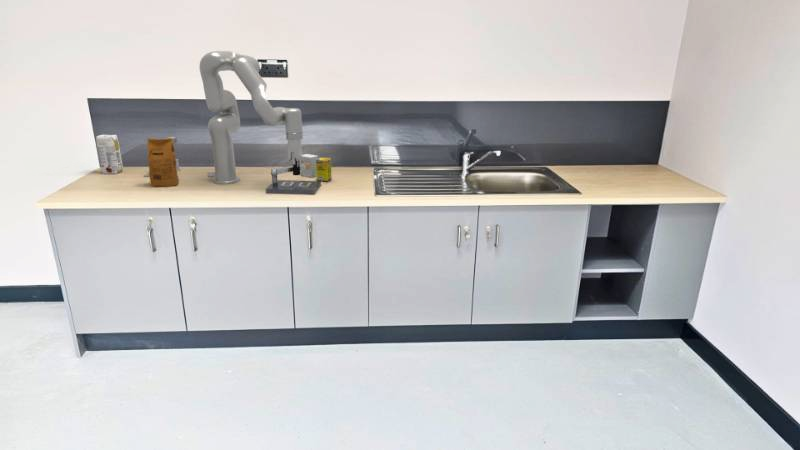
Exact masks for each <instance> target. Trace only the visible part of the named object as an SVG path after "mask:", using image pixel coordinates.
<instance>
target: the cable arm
mask: <svg viewBox="0 0 800 450" xmlns="http://www.w3.org/2000/svg"><path fill="white" fill-rule="evenodd" d="M304 169H310V164H308V163H304V164H301V165H300V171H301V170H304ZM287 173H293V167H292V165H291V166H290V165H289V166H284V167H277V168H270V175H271V176H272V175H277V176H278V175H280V174H287Z"/></svg>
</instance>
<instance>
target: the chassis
mask: <svg viewBox="0 0 800 450" xmlns="http://www.w3.org/2000/svg"><path fill="white" fill-rule="evenodd" d="M321 186H322V182H321V181H317V180H292V179H291V180H286V179H278V175H271V183H270V184H269V186H267V187H266V188H265V193H266V194H271V195H272V194H277V195H278V194H279V195H308V196H309V195H310V196H311V195H312V196H315V195H316V193H317V192H318V191H319V189H320V187H321Z"/></svg>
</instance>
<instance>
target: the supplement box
mask: <svg viewBox="0 0 800 450" xmlns="http://www.w3.org/2000/svg"><path fill="white" fill-rule="evenodd" d="M316 173H317V176H316V181H321V183H329V182H330V181H331V180H332V158H331V157H318V159H317V160H316Z"/></svg>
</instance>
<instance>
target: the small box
mask: <svg viewBox="0 0 800 450" xmlns="http://www.w3.org/2000/svg"><path fill="white" fill-rule="evenodd" d="M317 159H319V155H317V154H316V155H315V154H309V153H305V154H302V158H301V159H300V165H301V164H304V163H308V164H310V169H304V170H300V176H302V177H306V178H312V179H313V178H315V177H316V178H317V173H316V160H317Z"/></svg>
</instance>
